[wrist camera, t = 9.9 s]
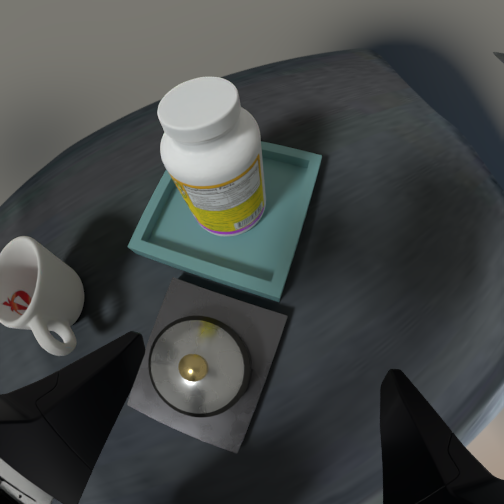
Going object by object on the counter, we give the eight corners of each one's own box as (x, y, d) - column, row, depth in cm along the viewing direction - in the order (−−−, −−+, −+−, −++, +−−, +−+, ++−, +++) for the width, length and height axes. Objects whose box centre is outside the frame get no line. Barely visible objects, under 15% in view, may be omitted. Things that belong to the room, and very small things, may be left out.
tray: (279, 302, 24) (279, 298, 22) (135, 253, 26) (127, 246, 24) (320, 166, 28) (322, 155, 26) (193, 139, 30) (190, 129, 29)
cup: (121, 332, 24) (66, 319, 16) (70, 376, 22) (13, 375, 15) (76, 248, 27) (28, 217, 20) (33, 293, 26) (-17, 272, 18)
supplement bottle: (201, 175, 28) (161, 71, 16) (269, 177, 27) (262, 65, 15) (188, 237, 26) (124, 145, 14) (262, 242, 25) (249, 142, 13)
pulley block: (239, 449, 20) (232, 465, 16) (132, 403, 21) (110, 408, 18) (287, 317, 23) (289, 310, 20) (176, 280, 25) (160, 267, 21)
